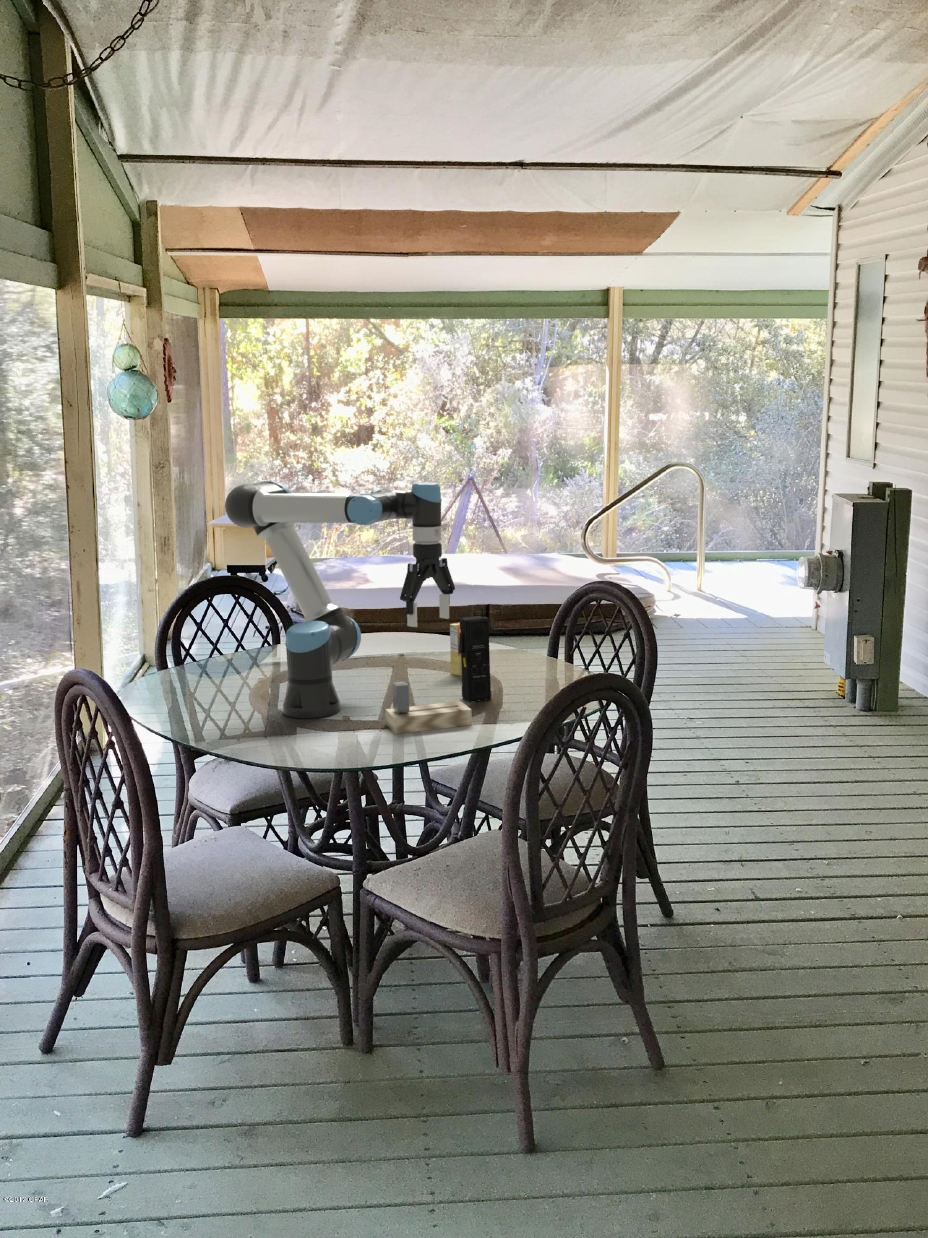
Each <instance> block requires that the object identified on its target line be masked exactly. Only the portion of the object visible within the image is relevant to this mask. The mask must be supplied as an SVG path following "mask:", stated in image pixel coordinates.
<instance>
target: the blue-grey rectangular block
mask: <svg viewBox="0 0 928 1238" xmlns="http://www.w3.org/2000/svg"><path fill="white" fill-rule="evenodd" d="M409 688H410V687H409V684H408V683H407V682H406V681H404V680H403V681H395V682H392V699H393V701H392V703H393V708H394V710H395V711H396V712H397V713H406V712H409V707H410V691H409Z"/></svg>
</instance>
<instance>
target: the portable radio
mask: <svg viewBox="0 0 928 1238" xmlns="http://www.w3.org/2000/svg"><path fill="white" fill-rule="evenodd" d="M489 621H490V620H489V617H487V616H484V607H481V614H480V615H478V616H469V617H459V623H460V630H461V633H460V637H459V653H460V654H461V665H462V675H461V698H462V697H463V698H462V699H463V700H464V699H465V700H464V701H466V702H468V703H472V702H471V701H476V702H479V701H478V700H483V701H486V700H485V699H490V700H492V688H491V687H492V686H491V685H492V683H491V660H490V659H491V657H490V656H491V655H490V625H489V623H490V622H489Z"/></svg>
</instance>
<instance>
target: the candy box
mask: <svg viewBox="0 0 928 1238" xmlns="http://www.w3.org/2000/svg"><path fill="white" fill-rule="evenodd" d="M460 633H461V630H460V622H454V623H449V640H450V647H449V648H450V674H451V675H453V676H454V675H455V676H459V677H460V676H462V665H461V654H460V653H459V637H460Z"/></svg>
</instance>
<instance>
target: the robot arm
mask: <svg viewBox="0 0 928 1238" xmlns="http://www.w3.org/2000/svg"><path fill="white" fill-rule="evenodd" d="M224 503H225V504H224V509H225V514H226V516H227V518H228V519H229V521H231V523H233V524H234V525H236V526H238V527H242V528H245V529H248V528H249V529H250V528H253V530H254V532H255V534H256V536H257V538H258V539H261V540H264V541H265V542H266V543H267V545H268V547H269V549H270V551H271V554H272V555H273V557H274V560H275V561H276V563H277V565H278V567H279V569H280V571H281V572H282V573H281V574H282V575H283V578H284V579H285V581H286V583H287V585H288V587H289V589H290V592H291V593H292V595H293V597H294V598H295V599H294V600H296V604H298V607H299V609H300V611H301V613H302V615H303V617H304V620H303V622H297V623H296V624H293V625H291V626H290V627H289V628H288V629H287V630H286V633H285V647H286V649H285V650H286V662H287V664H286V665H287V681H288V682H287V683H288V684H287V688H286V692H285V695H284V696H285V697H284V699H283V703H282V712H283V714H284V715H285V716H287V717H290V718H296V719H317V718H324V717H329V716H332V715H336V714H337V713H339V712H340V711H341V700H340V698H339V696H338V693H337V691H336V687H335V685H334V682H333V681H334V680H333V669H332V668H333V667H332V665H335V664H337V663H339V662H344V661H345V660H347V659H349V658H351V656H353V655H354V654H355V653H357V651H358V650H359V648H360V644H361V641H362V633H361V628H360V626H359V625H358V623H357V621H355V620H354V619H353V618H351V617H349V616H348V615H345V613H344V611H343V609H342V607H341V606H340V605H336V604H334V603H333V601H332V599H331V597H330V596H329V594H328V591H327V589H326V587H325V585H324V584H323V583H324V582H323V581H322V579H321V578H320V576H319V573H318V571H317V570H316V567H315V565H314V564H313V562H312V559H311V558H310V556H309V553H308V552H307V550H306V547H305V546H304V544H303V542H302V540H301V538H300V536H299V533H298V532H297V530H296V528H295V524H296V523H299V524H300V523H301V524H302V523H305V524H306V523H308V524H312V523H315V524H317V523H318V524H321V523H322V524H323V523H325V524H355V525H359V526H369V525H373V524H376V523H380V522H385V521H389V520H395V519H396V520H401V519H402V520H406V519H407V520H412V521H411V522H412V541H413V544H412V556H413V557H414V558H415V563H412V562H409V563H407V569H406V570H407V572H406V576H405V577H404V578H405V579H404V582H403V586H402V589H401V592H400V596H399V599H400V601H402V602H405V613H406V618H407V619H406V620H407V624H406V626H407V627H412V628H418V603H417V602H418V601H416V598H417V596H418V595H419V592H420V590H421V587H422V585H423V584H424V582H425V581H426V580H427V579H430V578H432V579H433V581H434V582H435V584H436V586H437V588H438V589H439V591H440V592H441V593H439V595H438V597H439V599H438V600H439V601H438V602H439V608H438V609H439V619H447V620H448V619H450V603H451V600H450V595H453V594H454V591H455V590H456V587H455V583H454V581H453V577H452V575H451V571H450V569H449V566H448V565H449V564H448V559H447V558H446V557H442V556H443V551H442V550H443V548H442V547H443V544H442V543H441V541H442V495H441V485H440V484H439V483H438V482H429V481H428V482H427V481H426V482H425V481H424V482H413V483H412V484H411V489H407V490H406V489H405V490H404V489H387V488H384V489H382V488H381V489H375V490H374V489H373V490H371V492H370V493H292V492H291V490H290V489H289V488H288V487H287V486H286V485H284V484H283V483H281V482H278V481H271V480H264V481H260V482H255V483H254V482H253V483H246V484H245V483H244V484H240V485H238V486H236V487H234V488H232V490H230V492H229V493H228V494H227V496H226V498H225V502H224Z"/></svg>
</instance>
